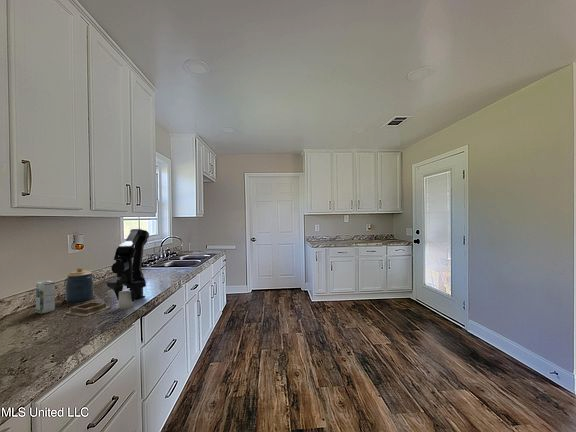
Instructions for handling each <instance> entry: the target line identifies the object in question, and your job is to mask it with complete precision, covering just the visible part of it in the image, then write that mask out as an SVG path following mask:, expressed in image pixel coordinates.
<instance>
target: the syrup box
mask: <svg viewBox="0 0 576 432" xmlns="http://www.w3.org/2000/svg"><path fill="white" fill-rule="evenodd" d="M53 311H56V281H53V280H42V281H37V282H36V283H35V313H38V314H46V313H49V312H53Z"/></svg>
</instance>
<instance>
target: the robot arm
mask: <svg viewBox="0 0 576 432" xmlns="http://www.w3.org/2000/svg"><path fill="white" fill-rule="evenodd" d="M149 238H150V233H149V231H147V230H145V229H142V228H140V227H139V228H131V229H130V231H129V234H128V236H127V238H126V239H125V240H124V242H121V243H120V244H119V245H118V247H116V251H115V253H114V257H113V261H115V262H114V263H113V264H112V265H111V268H110V269H111V272H112V273H114V274H115V275H116V276H115V277H113V278H111V279H110V280H108V281H107V282H106V284H107V288H109V289H111V290H113V292H114V294H115V296H116V298H117V299H116V300H117V301H119V292H120V291H123V290H124V289H123V288H124V286H125V287H126V289H128V290H130V291H131V297H132V302H133V303H134V302H135V301H136V300H140V299H142V297H143V298H145V297H146V295H144V288H145V287H147V281H146V278H145V276H144V273H143V271H142V264H143V263H142V262H143V257H144V248H145V247H144V246H145V245H146V244H147V243H148V239H149Z"/></svg>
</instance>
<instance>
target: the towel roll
mask: <svg viewBox="0 0 576 432" xmlns="http://www.w3.org/2000/svg"><path fill="white" fill-rule="evenodd" d="M132 306H133V307H134V302H132V297H131V291H130V290H129V289H123V290H122V291H120V292H119V300H118V309H119V310H127V309H126V308H128V309H131V308H130V307H132ZM133 307H132V308H133Z"/></svg>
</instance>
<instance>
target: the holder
mask: <svg viewBox="0 0 576 432" xmlns="http://www.w3.org/2000/svg"><path fill="white" fill-rule="evenodd" d="M108 308H109V309H111V308H112V306H109V305H107V302H99V301H98V302H97V301H90V302H85V303H83V304H78V305H75V306H72V307H70V310H69V311H66V312H65V313H64V314H65V315H69V316H70V315H71V316H78V317H84V318H85V316H86V317H88V315H89V316H92V315H93V314H96V313H99V312H100V313H101V312H103V311H106V310H108ZM91 314H92V315H91Z"/></svg>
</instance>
